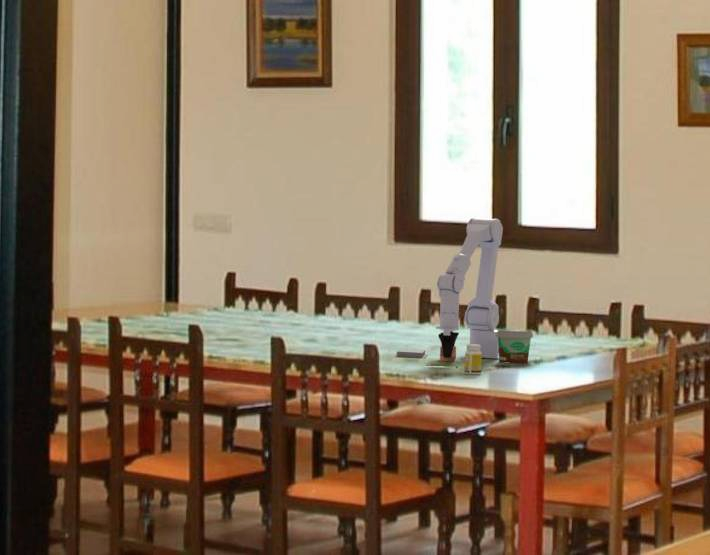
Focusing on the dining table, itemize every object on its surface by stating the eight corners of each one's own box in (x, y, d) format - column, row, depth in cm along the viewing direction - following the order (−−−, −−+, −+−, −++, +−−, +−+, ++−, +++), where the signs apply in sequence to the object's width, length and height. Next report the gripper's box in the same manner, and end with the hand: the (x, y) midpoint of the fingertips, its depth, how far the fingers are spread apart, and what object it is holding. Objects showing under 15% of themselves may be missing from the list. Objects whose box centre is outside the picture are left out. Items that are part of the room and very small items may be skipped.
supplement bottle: (483, 373, 402) (484, 344, 402) (477, 375, 398) (478, 346, 397) (467, 372, 404) (468, 343, 404) (462, 373, 400) (463, 344, 400)
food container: (504, 364, 425) (506, 331, 424) (494, 361, 430) (496, 329, 430) (539, 363, 430) (540, 331, 429) (529, 360, 435) (530, 329, 435)
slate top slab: (425, 354, 437) (425, 349, 437) (422, 357, 430) (422, 352, 429) (399, 353, 439) (399, 348, 438) (396, 356, 431) (396, 351, 431)
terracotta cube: (455, 360, 428) (456, 346, 428) (454, 362, 424) (455, 347, 423) (441, 359, 429) (441, 345, 429) (439, 361, 424) (440, 347, 424)
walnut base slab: (428, 359, 438) (428, 354, 438) (425, 362, 428) (425, 358, 428) (396, 357, 440) (397, 352, 440) (393, 361, 430) (393, 356, 430)
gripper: (438, 309, 433) (437, 353, 434) (434, 314, 419) (432, 358, 420) (461, 310, 432) (459, 354, 433) (457, 315, 418) (456, 359, 419)
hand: (447, 356), depth 426 cm, fingers closed on terracotta cube, 4 cm apart
